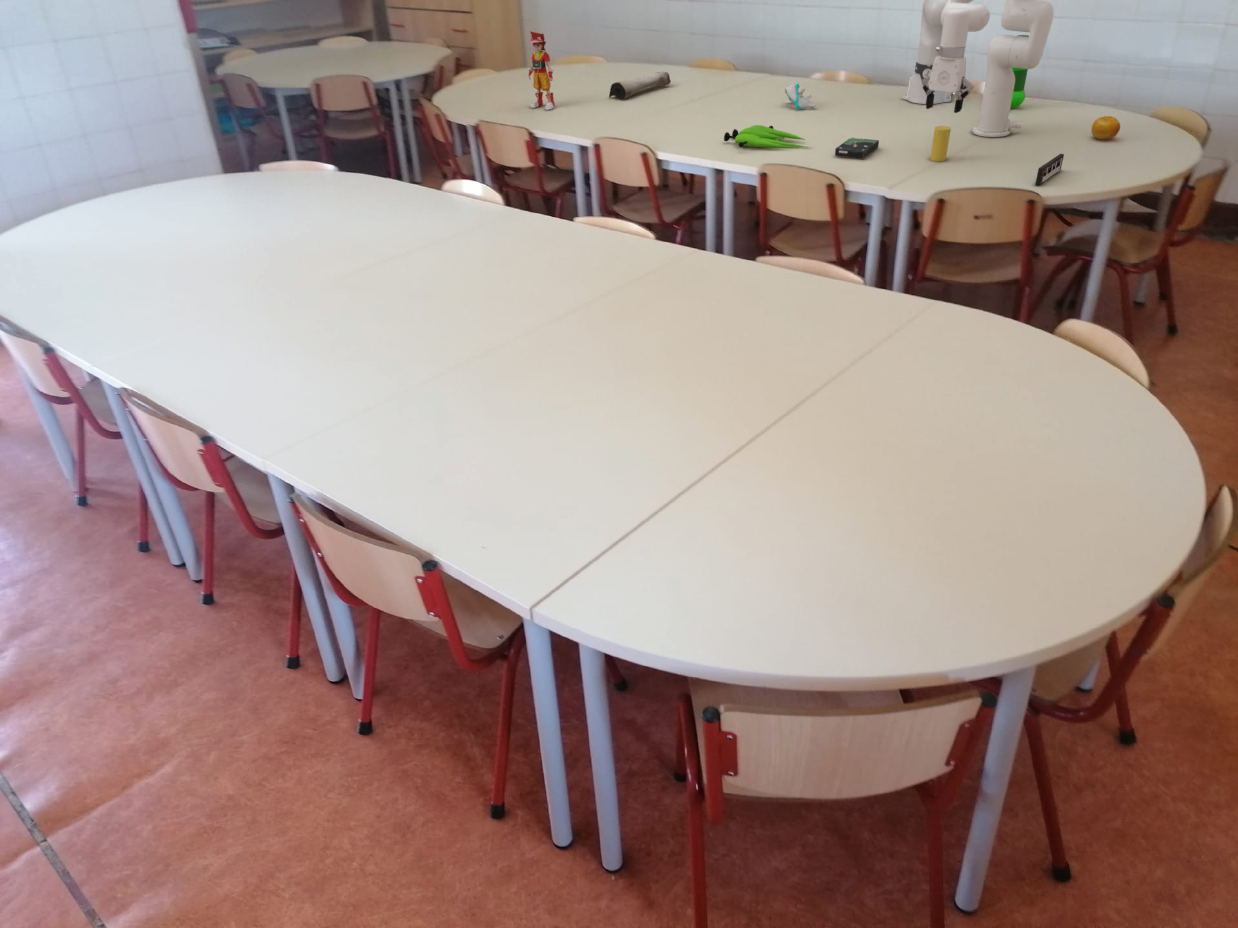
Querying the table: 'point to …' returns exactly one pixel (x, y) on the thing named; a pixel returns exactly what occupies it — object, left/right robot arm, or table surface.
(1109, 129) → the fruit
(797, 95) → the anatomical model
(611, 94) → the rolled mat
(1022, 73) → the green dumbbell
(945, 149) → the tin
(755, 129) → the toy
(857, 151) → the disk drive
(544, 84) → the toy
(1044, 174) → the midi keyboard
